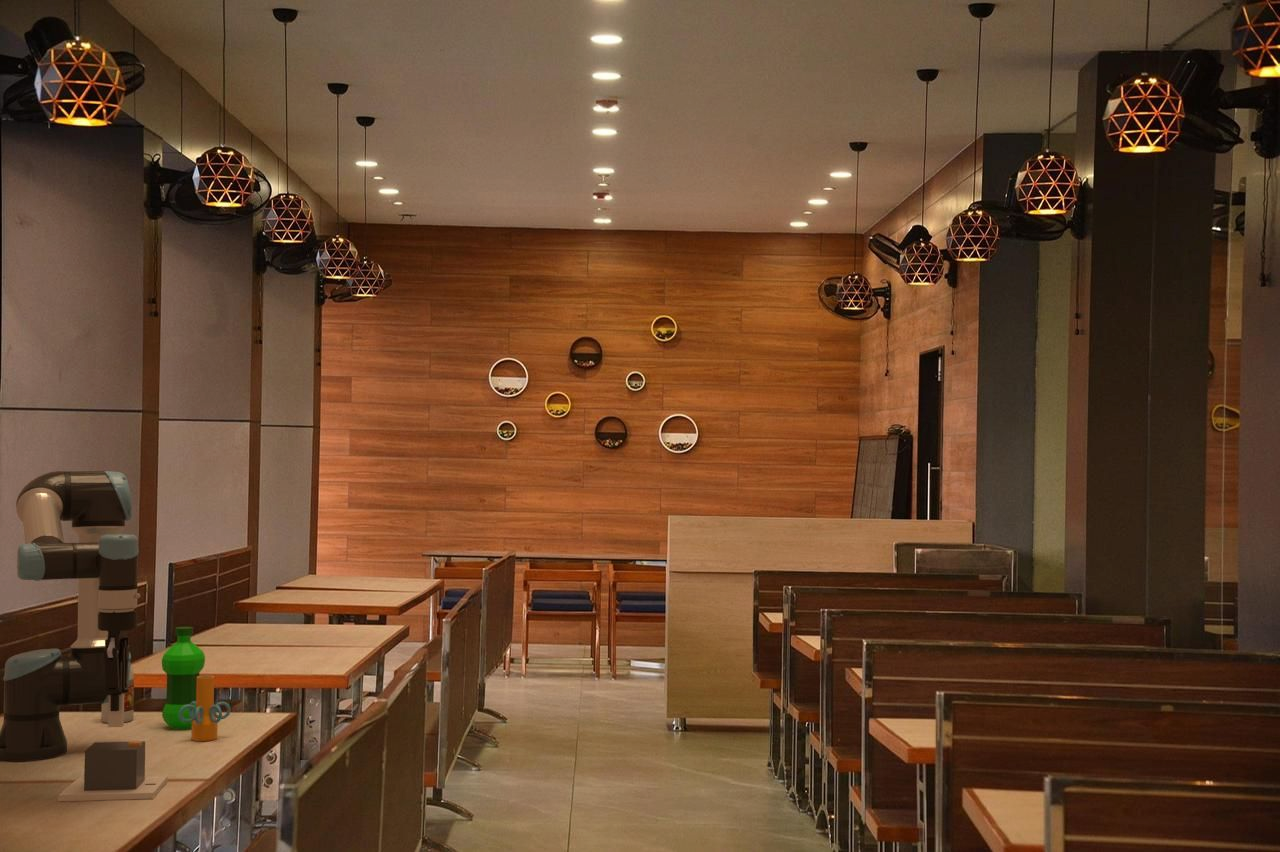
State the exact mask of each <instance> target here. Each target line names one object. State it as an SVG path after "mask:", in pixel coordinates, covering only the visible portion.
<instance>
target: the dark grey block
mask: <svg viewBox="0 0 1280 852" xmlns="http://www.w3.org/2000/svg"><path fill="white" fill-rule="evenodd" d="M83 769H84V770H83V771H84V773H83V778H84V791H95V790H132V789H137V788H138V787H139V786H140V785H141V784H142V783H143V781H144V780H145V777H146V776H145V775H146V741H145V740H144V741H143V740H141V741H139V740H138V741H100V742H99V741H97V742H94V743H92V744H91V745H90V746H88V748H86V749H85V750H84V768H83Z"/></svg>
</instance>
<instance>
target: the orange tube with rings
mask: <svg viewBox="0 0 1280 852" xmlns="http://www.w3.org/2000/svg"><path fill="white" fill-rule="evenodd" d="M214 695H215V676H214V675H199V676H198V677H197V688H196V701H193V702H191V703H190V705H185V706H183V707H182V708H181V709H180V711H179V718H180V719H181V720H182V721H183V722H191V721H192V728H191V732H190V733H191V741H195V742H210V741H214V740H217V739H218V723H219V722H221V720H225V719H227V718H228V717H229V716H230V713H231V705H230V704H229V703H228V702H226V701H219V702H217V703H215V702H214V700H215V699H214V698H215V696H214ZM194 704H195V705H196V708H195V707H194V706H193V705H194ZM221 706H225V707H226V710H227V711H226V712H225V714H223V711H222V709H221ZM186 708H188V711H189V715H190V716H191V717H192V718H190V719H185V718H183V716H182V712H183V710H184V709H186ZM192 710H193V711H194V714H193V713H192ZM217 712H218V713H217Z"/></svg>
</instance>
